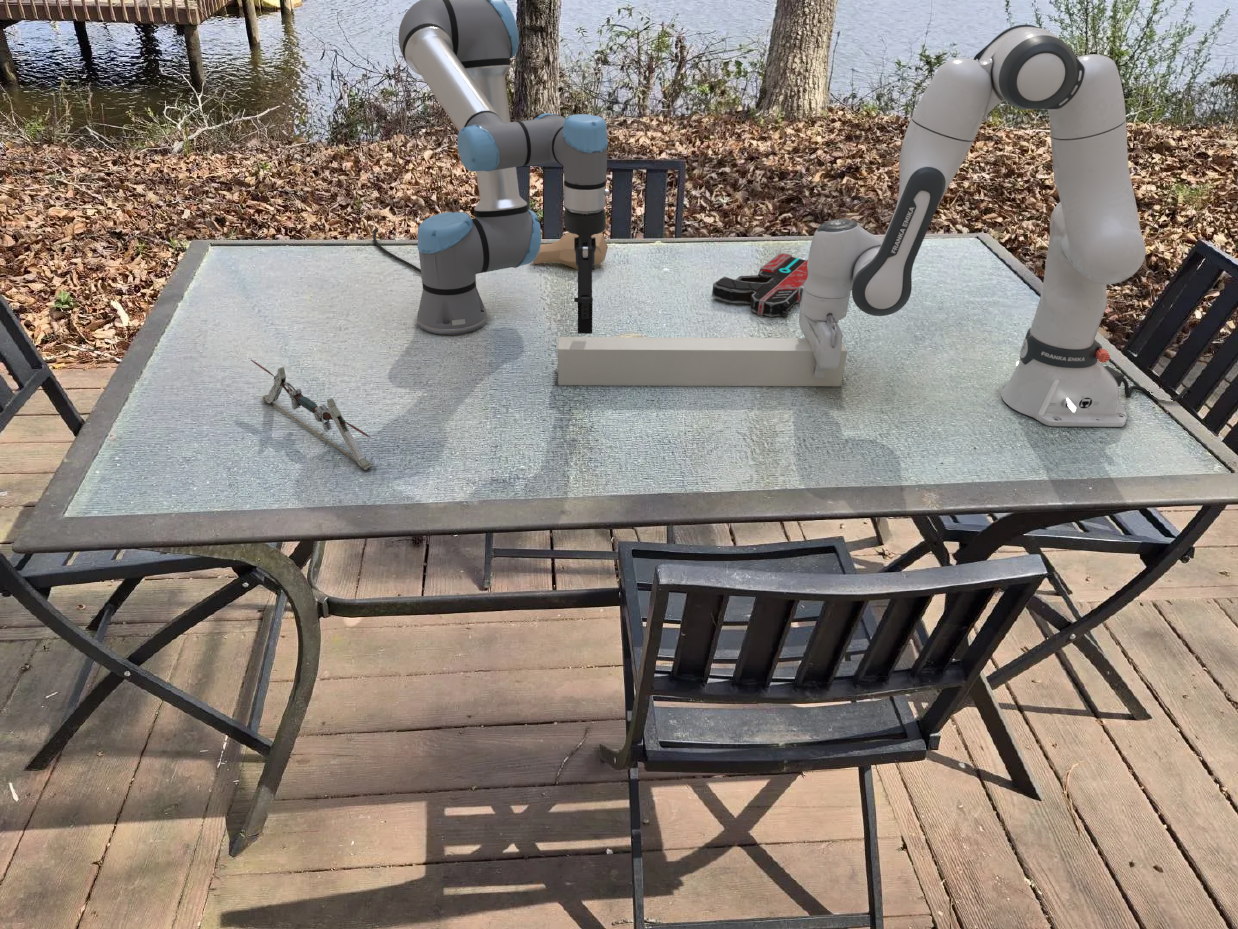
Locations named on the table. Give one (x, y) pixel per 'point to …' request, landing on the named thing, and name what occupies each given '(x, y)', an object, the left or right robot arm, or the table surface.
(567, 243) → the squash
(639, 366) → the post
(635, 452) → the table surface
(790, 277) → the gun
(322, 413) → the bow
